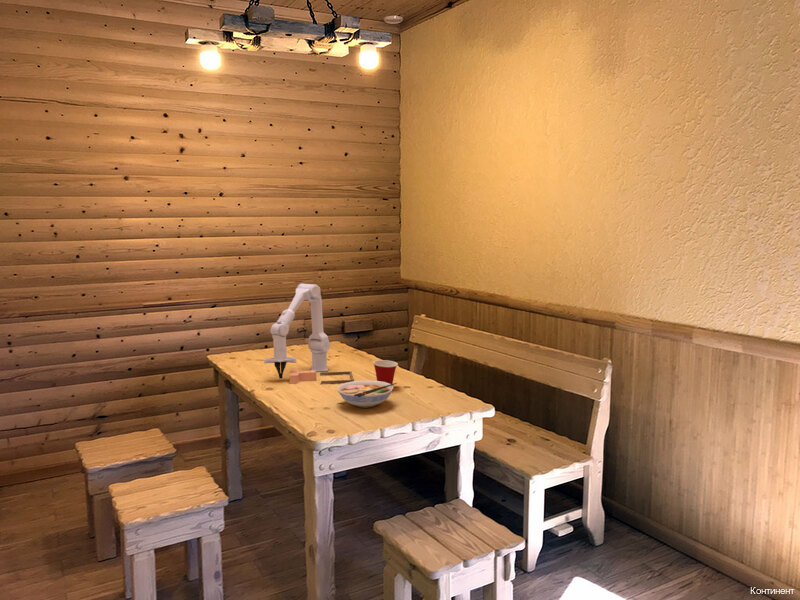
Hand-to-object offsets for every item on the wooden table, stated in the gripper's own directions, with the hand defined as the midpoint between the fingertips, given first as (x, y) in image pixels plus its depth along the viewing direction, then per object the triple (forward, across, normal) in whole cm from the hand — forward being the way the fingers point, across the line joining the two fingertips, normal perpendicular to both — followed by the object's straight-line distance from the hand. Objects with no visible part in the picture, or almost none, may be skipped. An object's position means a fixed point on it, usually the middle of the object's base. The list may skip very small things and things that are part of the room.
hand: (280, 378), depth 303 cm
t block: (+2, +10, 0) cm, 10 cm away
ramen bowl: (+2, +35, -44) cm, 56 cm away
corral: (+1, +25, 0) cm, 25 cm away
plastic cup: (+2, +46, -21) cm, 51 cm away
